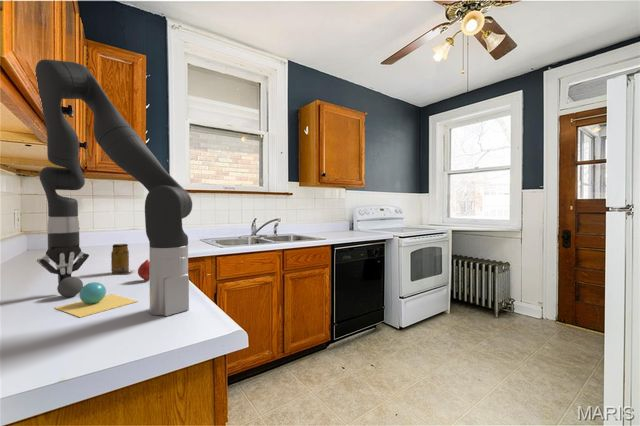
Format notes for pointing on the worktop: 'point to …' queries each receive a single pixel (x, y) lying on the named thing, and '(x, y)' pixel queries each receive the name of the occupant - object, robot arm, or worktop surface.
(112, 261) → the condiment
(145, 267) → the onion
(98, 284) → the object ball
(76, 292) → the dark gray ball
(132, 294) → the worktop surface
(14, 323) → the worktop surface
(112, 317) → the worktop surface
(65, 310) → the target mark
